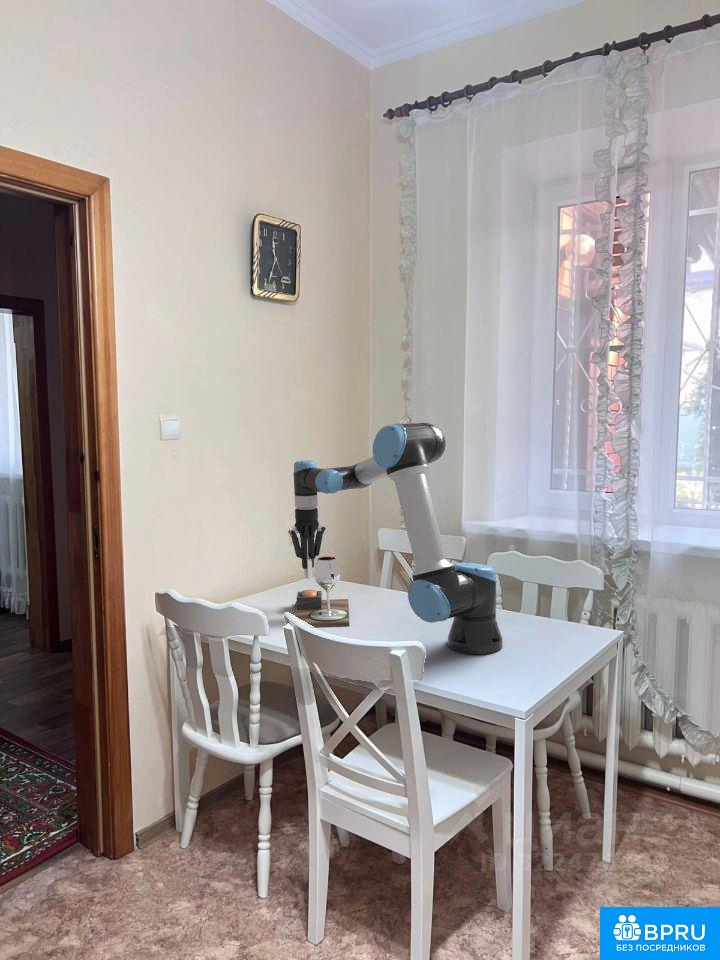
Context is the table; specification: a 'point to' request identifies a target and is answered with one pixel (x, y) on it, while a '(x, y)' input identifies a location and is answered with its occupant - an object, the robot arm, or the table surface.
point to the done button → (309, 593)
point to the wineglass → (327, 579)
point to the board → (313, 606)
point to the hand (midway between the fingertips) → (308, 577)
